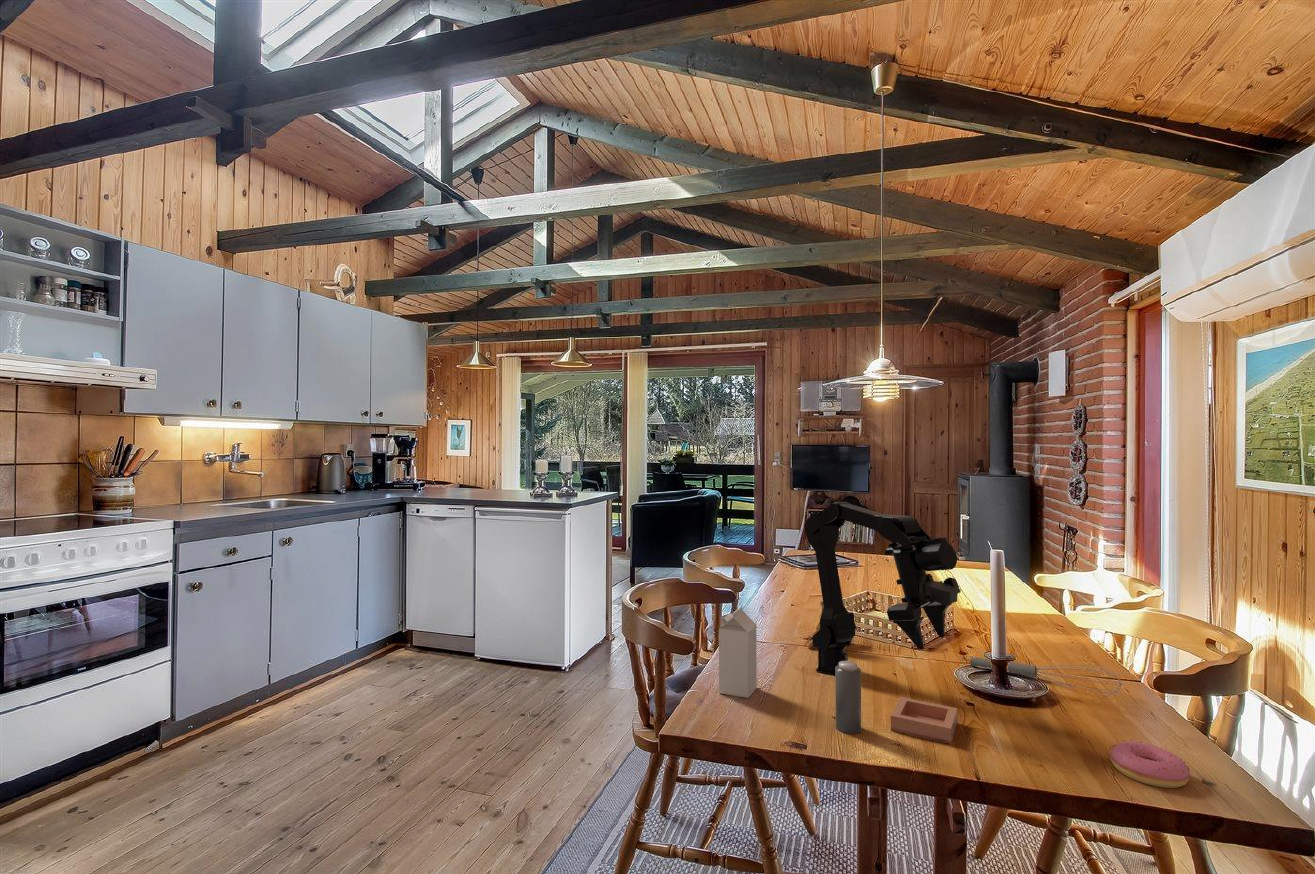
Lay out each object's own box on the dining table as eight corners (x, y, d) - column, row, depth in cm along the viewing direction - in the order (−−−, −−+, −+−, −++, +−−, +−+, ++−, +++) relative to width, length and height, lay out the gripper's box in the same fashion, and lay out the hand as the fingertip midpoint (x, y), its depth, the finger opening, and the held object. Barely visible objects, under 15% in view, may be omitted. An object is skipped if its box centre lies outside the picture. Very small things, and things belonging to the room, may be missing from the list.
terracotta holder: (890, 730, 122) (890, 715, 122) (900, 710, 132) (900, 696, 132) (951, 744, 116) (951, 728, 116) (957, 722, 126) (957, 708, 126)
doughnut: (1130, 788, 102) (1130, 763, 102) (1097, 756, 112) (1097, 733, 112) (1206, 796, 99) (1206, 770, 100) (1165, 762, 110) (1164, 739, 110)
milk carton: (756, 688, 144) (756, 607, 145) (748, 699, 138) (748, 614, 138) (728, 683, 147) (728, 604, 148) (718, 693, 141) (718, 611, 141)
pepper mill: (832, 730, 122) (832, 665, 123) (839, 720, 127) (838, 657, 127) (858, 736, 120) (857, 669, 120) (864, 726, 124) (863, 662, 124)
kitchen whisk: (965, 661, 163) (965, 638, 163) (1123, 695, 141) (1122, 668, 141) (958, 667, 159) (958, 643, 159) (1120, 704, 136) (1120, 675, 137)
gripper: (924, 578, 124) (946, 656, 122) (966, 560, 136) (987, 630, 133) (877, 582, 133) (897, 655, 130) (920, 565, 144) (939, 631, 142)
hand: (931, 643), depth 134 cm, fingers open, 9 cm apart
